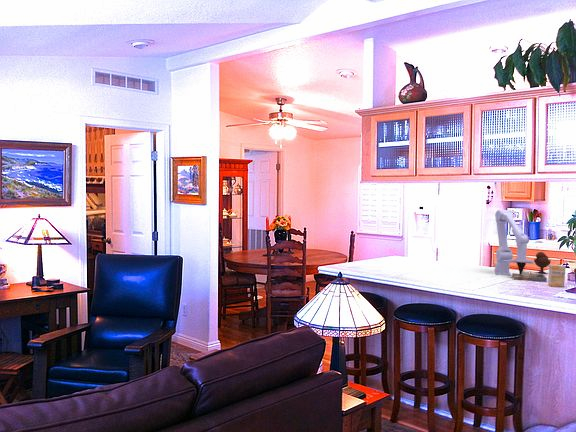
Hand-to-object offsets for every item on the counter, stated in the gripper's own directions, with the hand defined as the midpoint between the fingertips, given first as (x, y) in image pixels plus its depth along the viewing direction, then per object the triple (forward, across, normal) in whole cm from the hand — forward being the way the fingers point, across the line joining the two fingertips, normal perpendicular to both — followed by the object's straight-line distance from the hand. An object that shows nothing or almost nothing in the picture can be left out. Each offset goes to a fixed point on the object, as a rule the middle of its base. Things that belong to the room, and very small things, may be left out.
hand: (520, 273), depth 373 cm
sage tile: (+1, +3, 0) cm, 3 cm away
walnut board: (+3, 0, 0) cm, 3 cm away
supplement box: (+3, +19, -21) cm, 28 cm away
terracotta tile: (+2, +7, 0) cm, 7 cm away
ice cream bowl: (+3, +16, +29) cm, 34 cm away
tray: (+3, +10, 0) cm, 11 cm away
